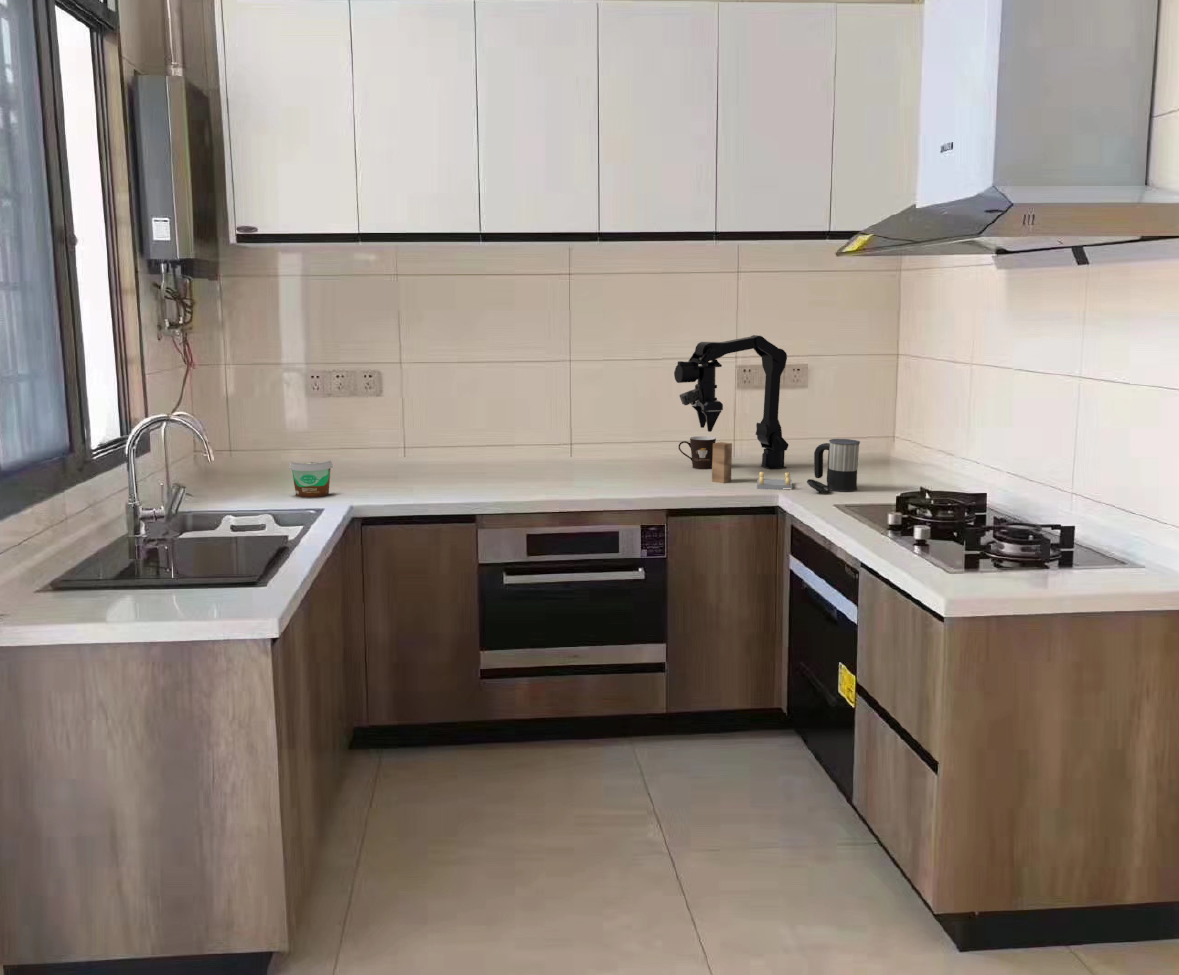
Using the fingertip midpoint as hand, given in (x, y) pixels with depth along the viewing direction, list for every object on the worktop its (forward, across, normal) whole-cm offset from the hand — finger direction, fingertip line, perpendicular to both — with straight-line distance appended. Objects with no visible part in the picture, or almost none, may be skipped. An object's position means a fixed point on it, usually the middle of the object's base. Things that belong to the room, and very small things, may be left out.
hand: (705, 429), depth 364 cm
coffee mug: (+14, -10, 0) cm, 17 cm away
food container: (+12, +24, -123) cm, 126 cm away
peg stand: (+14, +26, +15) cm, 33 cm away
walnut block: (+14, +17, +1) cm, 22 cm away
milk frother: (+15, +36, +30) cm, 49 cm away
